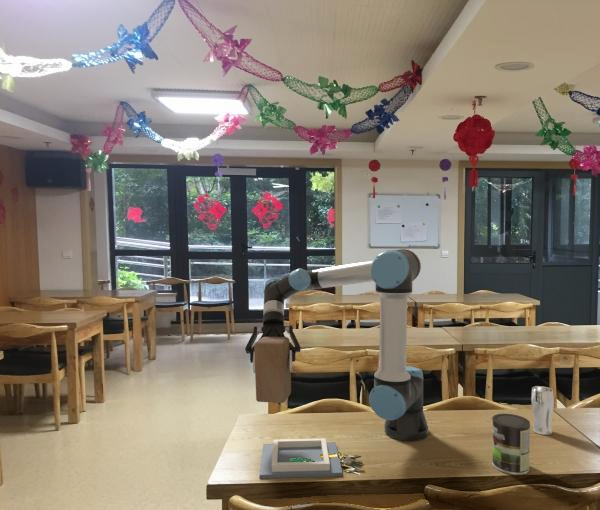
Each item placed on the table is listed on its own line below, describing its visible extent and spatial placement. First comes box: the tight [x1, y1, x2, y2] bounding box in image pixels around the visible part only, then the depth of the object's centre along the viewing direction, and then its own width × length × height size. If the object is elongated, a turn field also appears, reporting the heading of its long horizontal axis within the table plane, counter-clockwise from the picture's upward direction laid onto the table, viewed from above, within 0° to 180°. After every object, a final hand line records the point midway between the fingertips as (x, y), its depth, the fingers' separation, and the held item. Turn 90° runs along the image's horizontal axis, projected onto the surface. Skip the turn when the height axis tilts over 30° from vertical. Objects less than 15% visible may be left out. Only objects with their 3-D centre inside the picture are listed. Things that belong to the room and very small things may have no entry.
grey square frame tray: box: [259, 437, 343, 479], centre depth 144 cm, size 24×20×3 cm
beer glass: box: [530, 385, 555, 436], centre depth 162 cm, size 7×7×15 cm
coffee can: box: [491, 413, 531, 476], centre depth 138 cm, size 10×10×14 cm
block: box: [253, 336, 292, 404], centre depth 156 cm, size 10×10×20 cm
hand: (272, 370), depth 153 cm, fingers closed on block, 11 cm apart
